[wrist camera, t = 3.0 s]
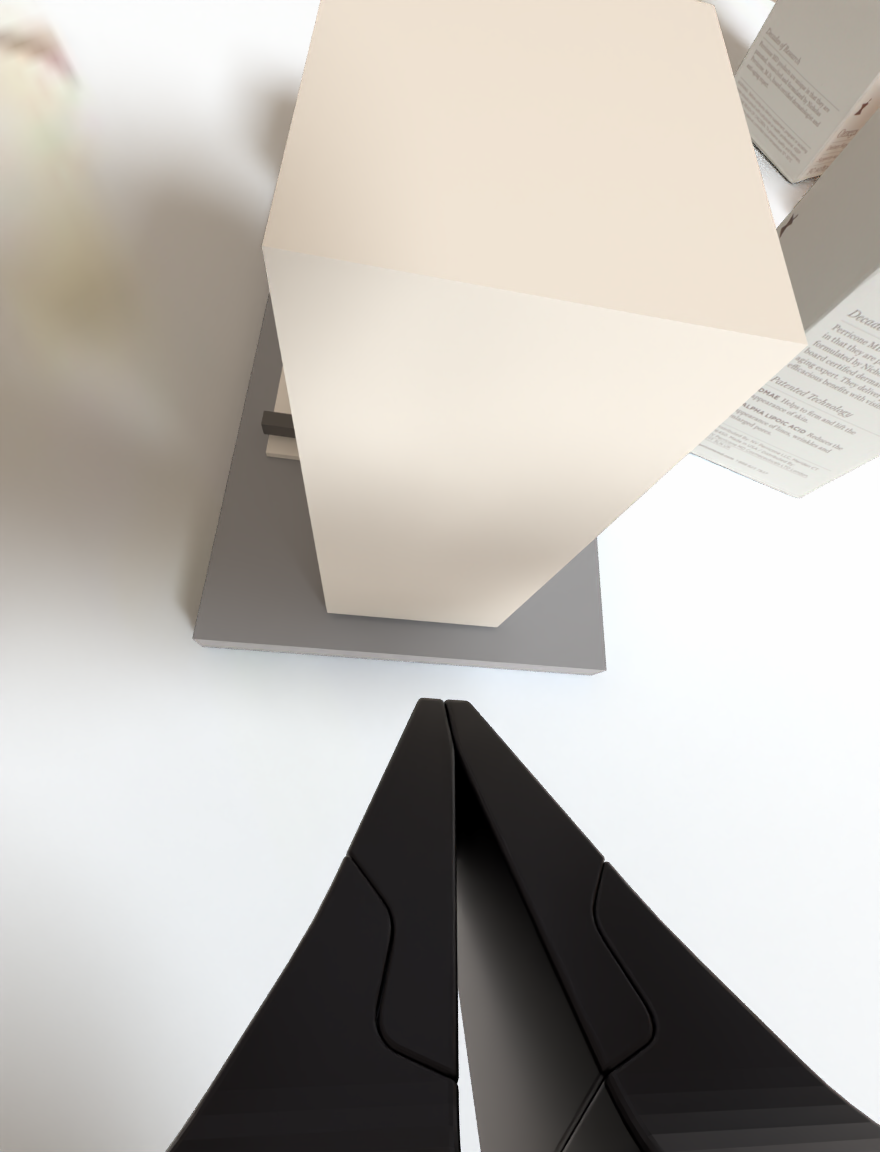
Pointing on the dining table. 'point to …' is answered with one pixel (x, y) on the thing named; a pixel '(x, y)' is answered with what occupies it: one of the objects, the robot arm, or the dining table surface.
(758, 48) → the supplement box
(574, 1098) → the robot arm
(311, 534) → the gray flat rectangular panel
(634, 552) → the dining table surface
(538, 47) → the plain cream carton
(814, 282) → the skincare box
